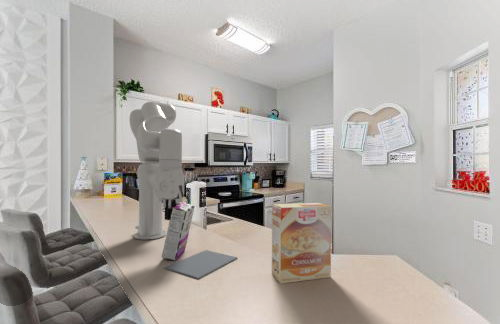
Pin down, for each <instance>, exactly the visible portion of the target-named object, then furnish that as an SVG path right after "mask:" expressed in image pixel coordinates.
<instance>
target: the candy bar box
mask: <svg viewBox="0 0 500 324" xmlns="http://www.w3.org/2000/svg"><path fill="white" fill-rule="evenodd" d="M195 207H196V205H194V204H191V203H186V202H181V203H178V204H177V206H175V207H173V208H172V213H171V217H170V220H169V223H168V227H167V232H166V235H165V241H164V245H163V250H162V254H161V258H162V259H166V260H172V261H175V262H177V261H178V258H180V256H181V255H182V254H183V253H184V251H186V247H187V243H188V237H189V235H190V234H189V233H190V229H191V225H192V220H193V216H194V212H195Z"/></svg>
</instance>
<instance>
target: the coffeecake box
mask: <svg viewBox="0 0 500 324" xmlns="http://www.w3.org/2000/svg"><path fill="white" fill-rule="evenodd" d="M271 208H272V209H271V219H272V220H271V274H272V275H273V276H274V278H275V279H276V280H277V281H278V282H279V284H288V283H295V282H296V283H297V282H303V281H312V280H320V279H328V278H331V277H332V276H331V275H332V273H331V272H332V271H331V270H332V257H331V255H332V250H331V248H332V245H331V244H332V242H331V241H332V240H331V238H332V236H331V235H332V232H331V231H332V221H331V220H332V206H331V205H329V204H325V203H322V202H321V203H320V202H305V203H304V202H299V203H296V202H295V203H272V204H271Z"/></svg>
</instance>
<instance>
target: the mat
mask: <svg viewBox="0 0 500 324" xmlns="http://www.w3.org/2000/svg"><path fill="white" fill-rule="evenodd" d="M237 259H238V257H237V256H234V255H229V254H224V253H220V252H216V251H212V250H208V249H206V250H203V251H200V252H198V253H196V254H193V255H190V256H188V257H186V258H183V259H181V260H177V261H175V262H173V263H170V264H168V265H166V266H164V269H166V270H169V271H172V272H175V273H177V274H181V275H184V276H188V277H190V278H193V279H197V280H200V279H202V278H203V277H206V276H208V275H209V274H211V273H213V272H214V271H217V270H219V269H221V268H222V267H225V266H226V265H228V264H230V263H232V262H233V261H235V260H237Z"/></svg>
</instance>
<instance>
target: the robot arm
mask: <svg viewBox="0 0 500 324" xmlns="http://www.w3.org/2000/svg"><path fill="white" fill-rule="evenodd" d="M176 117H177V111H176V109H175V106H173V105H172V104H169V103H163V102H156V101H147V102H145V103H144V104H142V106H141V108H139V109H137V108H136V109H133V110H132V111H131V112H130V115H129V127H130V129H131V133H132V134H133V137H134V138H135V141H136V147H137V155H138V159H139V162H140V163H141V164H140V165H139V166H138V168H137V170H136V177H137V183H138V225H136V226H135V227H134V228H135V230H137V232H136V233H135V234H134V236H133V237H134V238H135V239H136V240H142V241H144V240H145V241H146V240H149V241H150V240H155V239H160V238H163V237H166V236H167V232H166V231H165V230H163V211H164V220H165V221H170V217H171V213H172V208H173V207H175V206H177V205H179V204H181V203H183V198H184V196H185V179H184V178H185V176H184V172H183V169H182V167H183V155H182V154H183V134H182V132H181V131H180V130H178V129H173V128H171V129H170V128H169V127H170V126H172V124H174V122H175V121H176ZM163 208H164V209H163Z"/></svg>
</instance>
